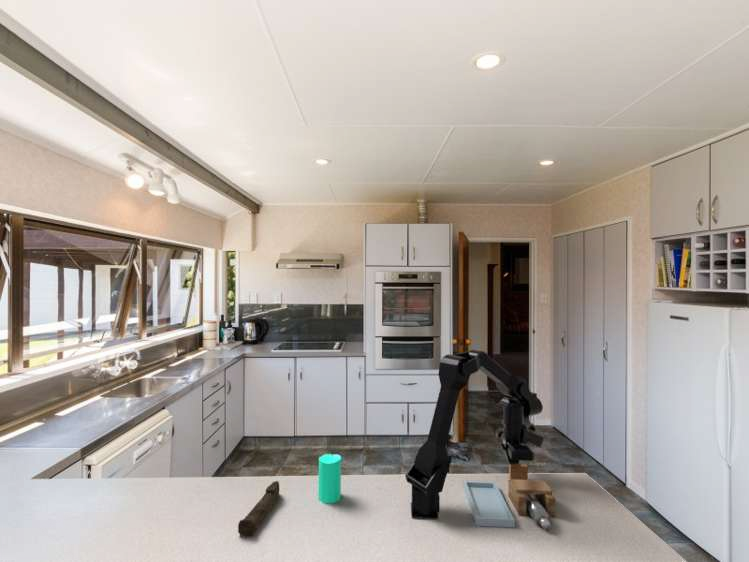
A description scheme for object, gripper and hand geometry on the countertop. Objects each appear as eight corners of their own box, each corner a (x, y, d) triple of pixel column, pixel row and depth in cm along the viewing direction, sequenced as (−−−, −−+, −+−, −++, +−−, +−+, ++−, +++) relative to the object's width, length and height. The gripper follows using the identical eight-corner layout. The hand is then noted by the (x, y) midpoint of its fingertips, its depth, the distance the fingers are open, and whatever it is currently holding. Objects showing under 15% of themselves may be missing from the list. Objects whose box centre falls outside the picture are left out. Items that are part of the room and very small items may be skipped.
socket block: (518, 515, 98) (518, 493, 98) (508, 496, 107) (508, 476, 107) (555, 516, 97) (555, 495, 97) (542, 497, 106) (542, 477, 106)
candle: (345, 495, 106) (345, 451, 106) (331, 505, 101) (331, 458, 101) (327, 489, 109) (328, 446, 110) (313, 499, 104) (314, 453, 104)
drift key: (518, 500, 104) (518, 478, 104) (509, 484, 113) (509, 463, 113) (536, 500, 104) (536, 478, 104) (526, 484, 113) (526, 464, 113)
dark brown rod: (253, 539, 87) (254, 518, 87) (237, 537, 88) (237, 516, 88) (288, 496, 106) (288, 479, 106) (274, 495, 106) (274, 477, 107)
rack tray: (476, 525, 93) (476, 518, 93) (463, 486, 111) (463, 480, 112) (514, 527, 92) (514, 520, 92) (495, 488, 111) (495, 482, 111)
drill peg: (539, 534, 90) (537, 518, 91) (521, 503, 104) (519, 489, 104) (555, 533, 90) (553, 517, 90) (535, 502, 104) (533, 488, 104)
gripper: (553, 431, 108) (553, 488, 107) (530, 410, 126) (530, 459, 126) (512, 429, 108) (511, 487, 108) (495, 409, 127) (495, 458, 126)
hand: (513, 472), depth 117 cm, fingers closed
